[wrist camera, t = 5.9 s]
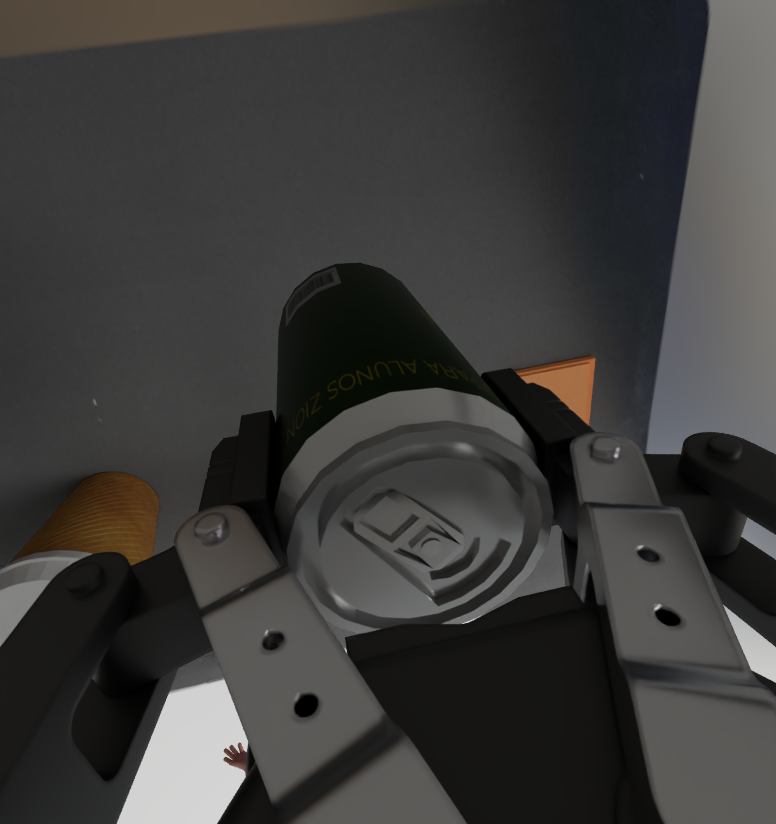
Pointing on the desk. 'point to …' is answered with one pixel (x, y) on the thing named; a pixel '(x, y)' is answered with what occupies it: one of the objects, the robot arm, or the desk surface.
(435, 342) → the beer can
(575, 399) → the orange square panel
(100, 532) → the disposable coffee cup
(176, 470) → the desk surface
